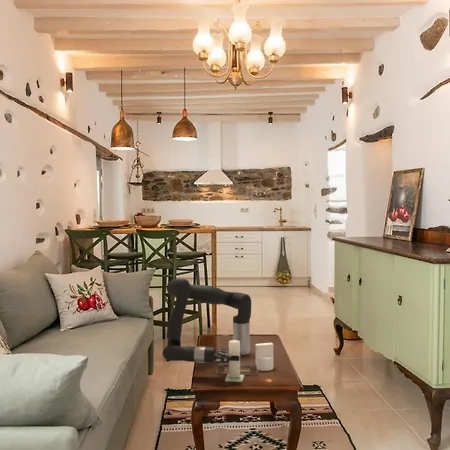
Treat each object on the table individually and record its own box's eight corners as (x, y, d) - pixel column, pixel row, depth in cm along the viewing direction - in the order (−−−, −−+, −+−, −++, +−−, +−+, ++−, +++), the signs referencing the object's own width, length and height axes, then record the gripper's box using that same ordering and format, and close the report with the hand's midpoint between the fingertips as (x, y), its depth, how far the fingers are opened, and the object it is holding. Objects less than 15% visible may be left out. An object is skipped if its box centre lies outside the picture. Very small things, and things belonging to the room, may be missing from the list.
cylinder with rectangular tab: (259, 371, 226) (258, 347, 226) (253, 365, 235) (252, 342, 234) (276, 369, 228) (276, 345, 228) (269, 364, 237) (269, 340, 237)
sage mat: (227, 375, 222) (227, 373, 222) (244, 375, 220) (244, 374, 220) (225, 381, 214) (225, 379, 214) (242, 382, 212) (242, 380, 212)
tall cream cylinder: (229, 372, 220) (229, 339, 219) (240, 373, 219) (240, 340, 219) (228, 376, 215) (228, 342, 214) (239, 377, 214) (239, 343, 213)
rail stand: (217, 370, 229) (217, 362, 228) (258, 372, 225) (257, 364, 225) (216, 373, 224) (215, 365, 223) (257, 375, 220) (256, 367, 220)
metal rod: (218, 365, 226) (218, 363, 226) (254, 367, 224) (254, 365, 223) (218, 366, 225) (218, 364, 225) (254, 368, 222) (254, 365, 222)
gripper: (201, 351, 212) (238, 353, 209) (207, 342, 226) (242, 344, 223) (201, 367, 212) (238, 369, 209) (207, 357, 226) (242, 359, 223)
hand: (240, 356), depth 216 cm, fingers closed on tall cream cylinder, 5 cm apart
